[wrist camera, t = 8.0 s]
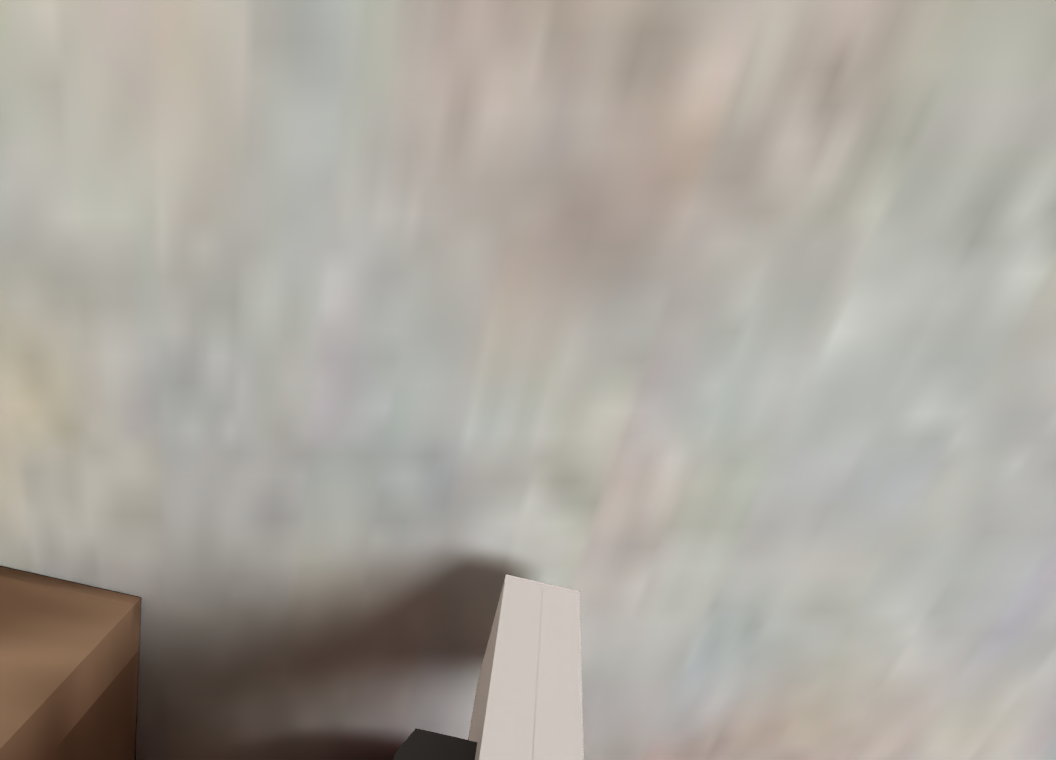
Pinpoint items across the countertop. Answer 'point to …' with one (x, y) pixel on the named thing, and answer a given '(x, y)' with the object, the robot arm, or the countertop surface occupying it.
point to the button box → (66, 669)
